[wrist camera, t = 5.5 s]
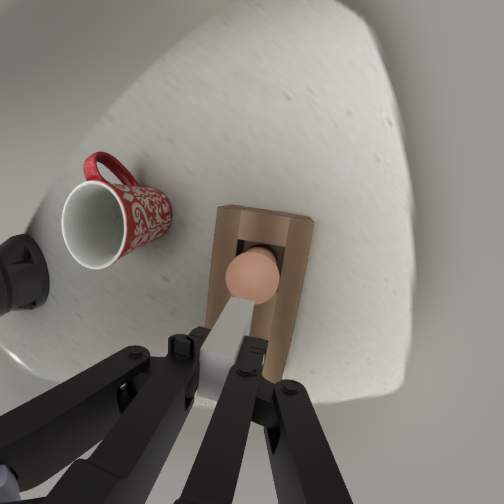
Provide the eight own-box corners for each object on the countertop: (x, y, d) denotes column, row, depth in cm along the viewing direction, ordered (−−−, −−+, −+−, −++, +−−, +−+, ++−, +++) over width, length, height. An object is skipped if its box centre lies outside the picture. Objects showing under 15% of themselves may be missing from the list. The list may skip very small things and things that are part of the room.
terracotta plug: (235, 279, 32) (222, 299, 26) (241, 237, 31) (228, 248, 25) (277, 286, 32) (274, 308, 26) (284, 244, 31) (283, 257, 25)
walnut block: (214, 353, 41) (201, 380, 34) (231, 204, 36) (217, 207, 29) (279, 365, 40) (277, 394, 33) (309, 216, 35) (314, 221, 28)
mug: (185, 239, 38) (136, 262, 25) (131, 251, 39) (72, 275, 26) (167, 149, 36) (111, 132, 23) (114, 168, 37) (50, 163, 24)
